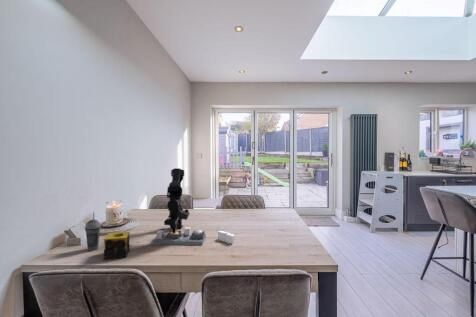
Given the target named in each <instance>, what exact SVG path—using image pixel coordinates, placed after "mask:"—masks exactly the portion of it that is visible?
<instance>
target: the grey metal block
mask: <svg viewBox="0 0 476 317" xmlns="http://www.w3.org/2000/svg"><path fill="white" fill-rule="evenodd" d="M164 233H165V231H164V230H157V231H156V236H157V238H156V239H161V240H162V238H163V237H164Z"/></svg>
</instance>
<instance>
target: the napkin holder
mask: <svg viewBox="0 0 476 317" xmlns="http://www.w3.org/2000/svg"><path fill="white" fill-rule="evenodd" d="M218 239H219V240H218ZM217 240H218V241H221V240H223V241H222V242H224V241H226V242H227V243H226V242H225V243H226V244H229V243H231V244H230V245H232V244H233V243H235V244H236V234H233V233H230V232H227V231H223V230H218V231H217ZM233 245H234V244H233Z"/></svg>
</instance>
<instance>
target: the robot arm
mask: <svg viewBox="0 0 476 317" xmlns="http://www.w3.org/2000/svg"><path fill="white" fill-rule="evenodd" d="M170 177H171V178H172V179H171V182H170V183H169V184H168V186H167V190H166V191H167V193H166V198H168V199H169V200H168V201H167V209H168V210H167V211H168V213H169V214H168V216H167V218H166V219H164V222H163V223H164V224H163V225H164V226H169V228H170V229H171V231H173V233H175V232H176V231H177V230H181V229H183V227H184V225H183V220H185V221H187V220H188V218H189V216H190V212H189V211H190V210H189V209H187V208H186V209H185V210H184V208H183V205H182V203H181V197H182V195H183V187H182V182H183V180H184V177H185V170H184V169H182V168H177V167H176V168H173V169H171V170H170Z"/></svg>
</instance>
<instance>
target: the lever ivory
mask: <svg viewBox="0 0 476 317" xmlns="http://www.w3.org/2000/svg"><path fill="white" fill-rule="evenodd" d="M184 227H185V228H184V230H183V231H184V232H183V233H184V235H190V234H191V233H192V232H191V226H188V227H187V226H184Z"/></svg>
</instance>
